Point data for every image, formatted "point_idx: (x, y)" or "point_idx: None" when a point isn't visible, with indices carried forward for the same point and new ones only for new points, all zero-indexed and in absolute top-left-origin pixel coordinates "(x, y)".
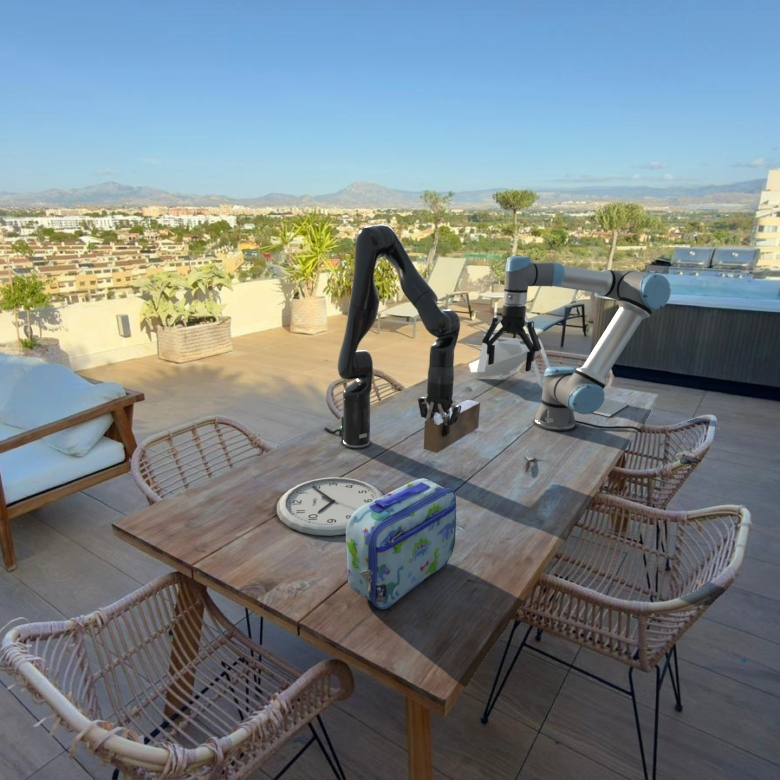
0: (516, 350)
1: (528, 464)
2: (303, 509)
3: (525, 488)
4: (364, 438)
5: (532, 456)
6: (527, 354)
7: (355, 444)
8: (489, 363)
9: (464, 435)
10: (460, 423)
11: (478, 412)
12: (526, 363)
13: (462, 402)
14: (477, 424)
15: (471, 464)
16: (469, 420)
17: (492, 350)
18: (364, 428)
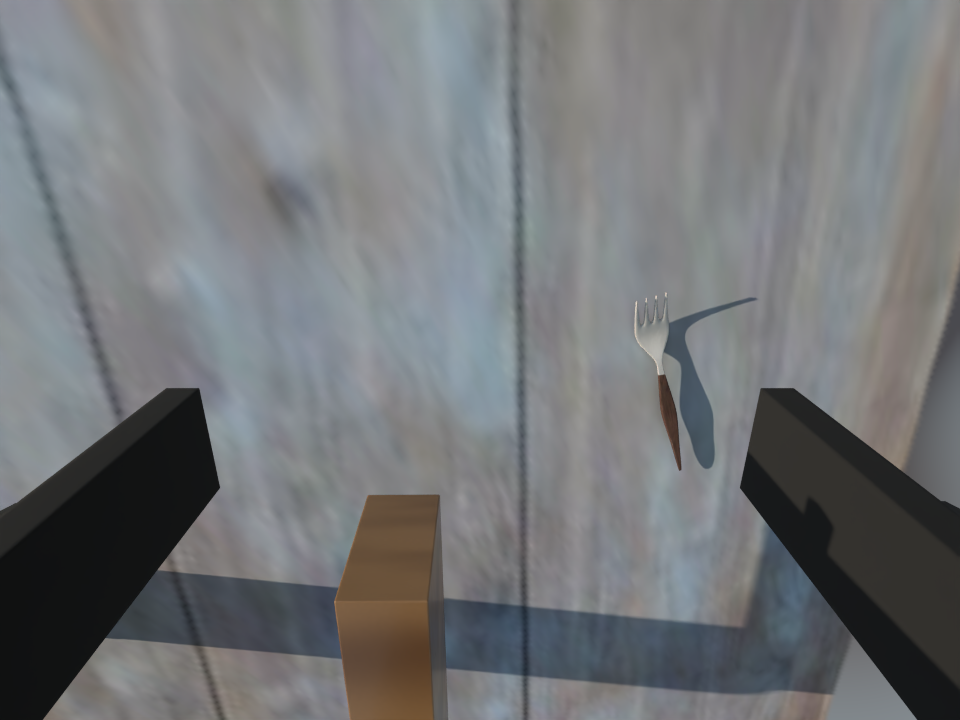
0: None
1: (671, 412)
2: None
3: (702, 546)
4: None
5: (660, 322)
6: (927, 713)
7: None
8: (201, 498)
9: (443, 608)
10: (440, 708)
11: (433, 564)
12: (808, 566)
13: (346, 657)
14: (438, 517)
15: (478, 505)
16: (438, 630)
17: (66, 618)
18: None
